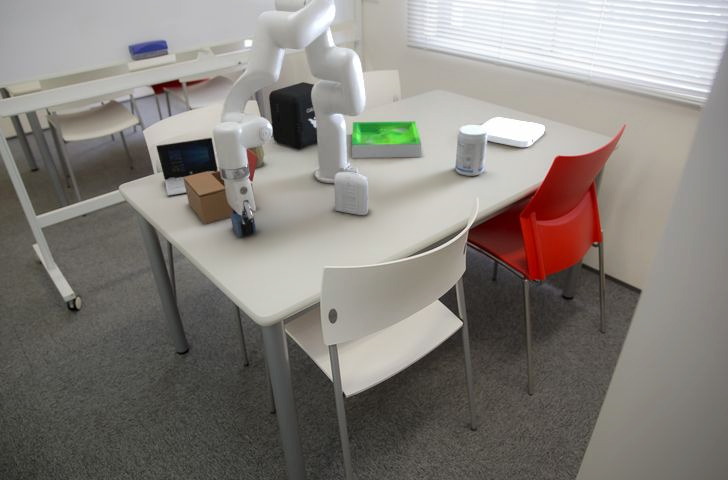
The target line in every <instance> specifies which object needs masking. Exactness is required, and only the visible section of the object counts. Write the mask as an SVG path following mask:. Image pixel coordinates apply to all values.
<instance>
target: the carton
mask: <svg viewBox="0 0 728 480" xmlns="http://www.w3.org/2000/svg"><path fill="white" fill-rule="evenodd" d="M212 172H213V171H212ZM182 178H184V184H185V188H186V193H185V194H186V196H187V201H188V205H189V206H190V207H191V209H192V210H193V211H194V213H195V214H196V215H197V216H198V218H200V220H201V221H202V222H203V224H204V225H207V224H210V223H214V222H217V221H221V220H223V219H227V218H231V216H230V215H231V214H233V213H232V207H231V206H230V205H229V203H228V201H227V197H226V191H225V184H224V180H223V179H222V178H221V174H220V170H218V171H217V172H213V173H210V172H209V171H207V172H203V173H198V174H194V175H190V176H186V177H182ZM250 183H251V187H252V191H253V196H254V197H255V195H254V193H255V192H254V187H253V183H252V182H251V181H250ZM254 201H255V199H254ZM255 202H256V201H255ZM250 210H251V209H250ZM244 211H245V210H244ZM251 212H253V211H252V210H251Z"/></svg>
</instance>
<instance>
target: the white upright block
mask: <svg viewBox="0 0 728 480" xmlns="http://www.w3.org/2000/svg"><path fill="white" fill-rule="evenodd" d="M333 184H334V186H333V188H334V209H335V211H337V212H341V213H346V214H350V215H351V214H352V215H357V216H366V215H368V213H369V179H368V177H367V176H365V175H363V174H361V173H359V172H358V173H353V172H339V173H337V174H336V175H335V179H334V183H333Z"/></svg>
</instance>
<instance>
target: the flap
mask: <svg viewBox="0 0 728 480" xmlns="http://www.w3.org/2000/svg"><path fill="white" fill-rule="evenodd" d="M246 152H247V159H248V165H249V172H250V176H249V180H250V182H251V183H252V182H254V176H255V172H256V168H257V167H256V162H257V157H258V156H257V155H256V154H254V153H253V152H252V151H250V150H249V149H247V150H246ZM255 167H256V168H255Z"/></svg>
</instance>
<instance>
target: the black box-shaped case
mask: <svg viewBox="0 0 728 480" xmlns="http://www.w3.org/2000/svg"><path fill="white" fill-rule="evenodd" d="M314 85H315V84H314V83H309V82H304V81H303V82H299V83H296V84H292V85H288V86H285V87H281V88H278V89H275V90H272V91H271V92H270V94H269V97H268V101H269V109H270V110H269V111H270V119H271V125H272V129H273V132H272V137H273V141H274V142H275V143H278V144H280V145H284V146H287V147H290V148H293V149H296V150H302V149H305V148H308V147H310V146H312V145H316V144H318V142H317V126H316V117H315V112H314V108H313V104H312V99H311V92H312V88H313V86H314Z"/></svg>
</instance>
